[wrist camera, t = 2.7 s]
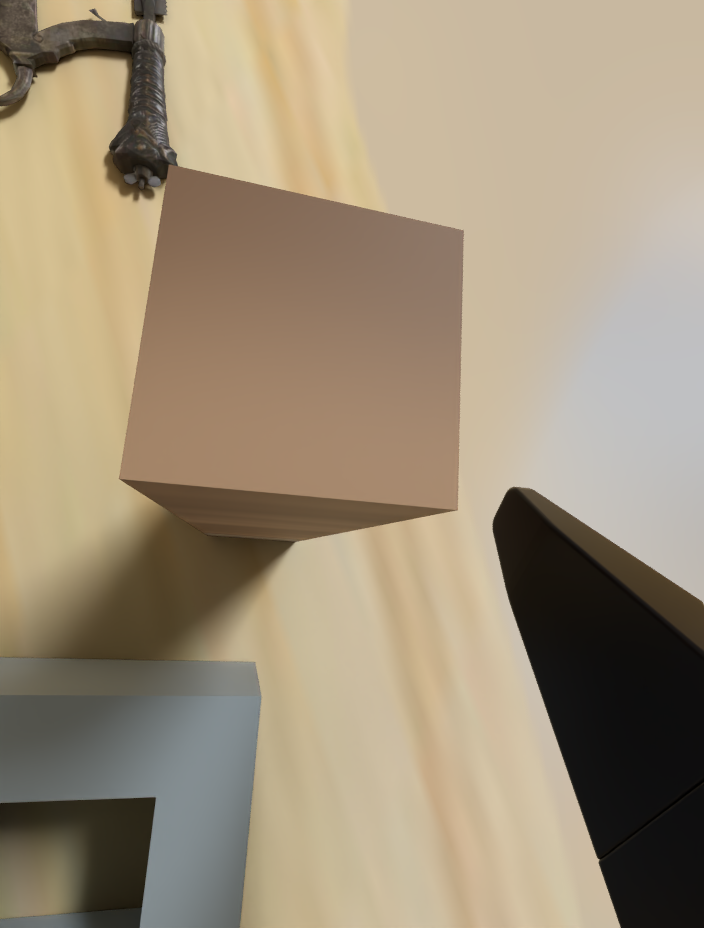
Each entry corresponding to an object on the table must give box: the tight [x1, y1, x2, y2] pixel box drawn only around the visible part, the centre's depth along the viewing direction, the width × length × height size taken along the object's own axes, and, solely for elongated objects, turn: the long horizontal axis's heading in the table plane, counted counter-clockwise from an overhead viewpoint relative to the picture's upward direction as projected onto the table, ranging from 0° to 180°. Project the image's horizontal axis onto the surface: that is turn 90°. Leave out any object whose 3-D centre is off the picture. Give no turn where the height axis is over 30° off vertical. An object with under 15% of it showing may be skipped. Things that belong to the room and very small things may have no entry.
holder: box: [0, 657, 261, 928], centre depth 12 cm, size 9×9×4 cm
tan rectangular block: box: [119, 165, 464, 542], centre depth 11 cm, size 3×3×13 cm
